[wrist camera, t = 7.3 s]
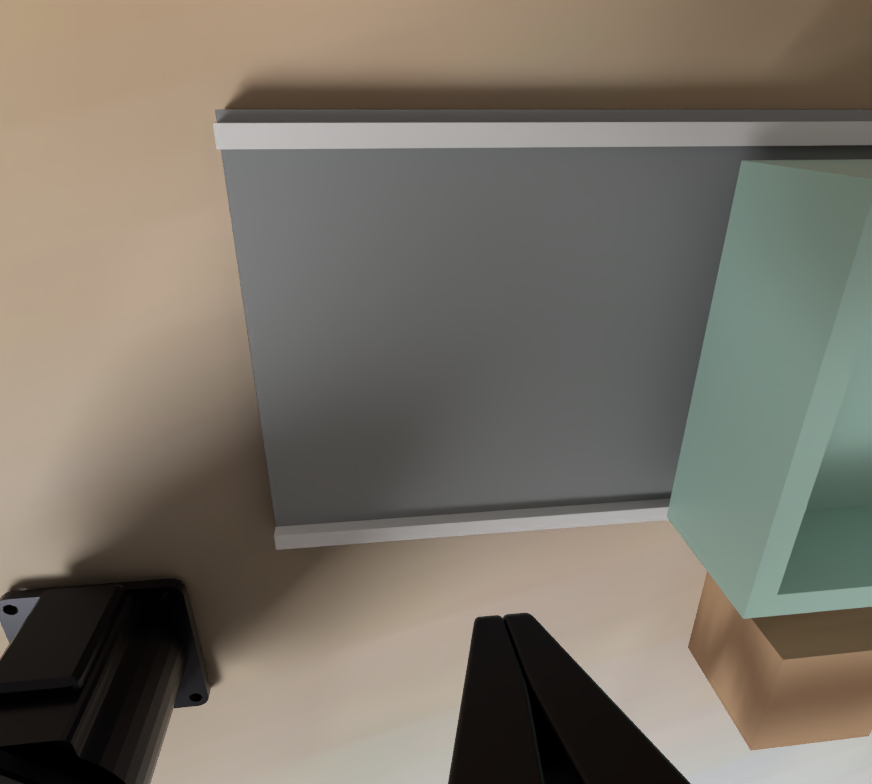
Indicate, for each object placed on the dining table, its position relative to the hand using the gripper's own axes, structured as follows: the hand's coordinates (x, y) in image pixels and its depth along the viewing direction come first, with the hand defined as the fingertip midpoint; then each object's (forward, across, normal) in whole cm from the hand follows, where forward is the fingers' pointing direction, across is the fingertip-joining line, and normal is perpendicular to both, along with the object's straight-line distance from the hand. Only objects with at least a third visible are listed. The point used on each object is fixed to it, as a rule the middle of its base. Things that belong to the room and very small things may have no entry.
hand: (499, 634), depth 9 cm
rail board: (+12, -10, 0) cm, 15 cm away
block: (+12, -15, +13) cm, 23 cm away
